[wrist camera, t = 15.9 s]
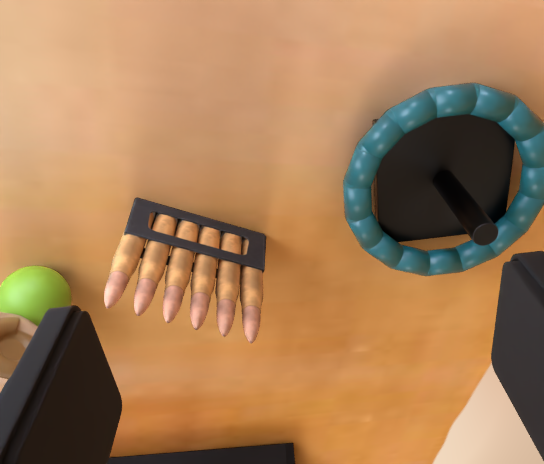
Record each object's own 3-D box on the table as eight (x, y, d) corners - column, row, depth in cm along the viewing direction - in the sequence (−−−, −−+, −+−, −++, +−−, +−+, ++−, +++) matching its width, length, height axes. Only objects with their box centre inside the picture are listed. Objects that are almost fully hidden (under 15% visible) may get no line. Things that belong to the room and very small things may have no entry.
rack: (372, 119, 37) (405, 170, 29) (512, 101, 37) (583, 148, 29) (375, 237, 42) (403, 307, 34) (497, 222, 42) (555, 290, 34)
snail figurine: (20, 234, 41) (-59, 336, 31) (91, 275, 43) (41, 384, 33) (-10, 278, 43) (-93, 387, 33) (60, 315, 45) (2, 429, 35)
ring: (337, 95, 35) (341, 104, 33) (559, 68, 35) (576, 75, 33) (346, 275, 43) (350, 289, 41) (529, 254, 42) (541, 268, 40)
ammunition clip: (266, 234, 42) (270, 335, 31) (259, 253, 43) (260, 356, 32) (135, 197, 40) (94, 291, 29) (130, 217, 41) (88, 315, 30)
